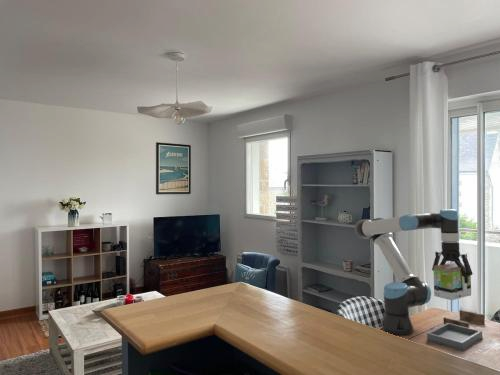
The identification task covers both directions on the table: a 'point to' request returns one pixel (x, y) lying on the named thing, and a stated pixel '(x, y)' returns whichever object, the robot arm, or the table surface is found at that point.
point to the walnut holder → (466, 318)
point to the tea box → (450, 282)
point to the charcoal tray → (454, 336)
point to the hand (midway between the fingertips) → (452, 287)
